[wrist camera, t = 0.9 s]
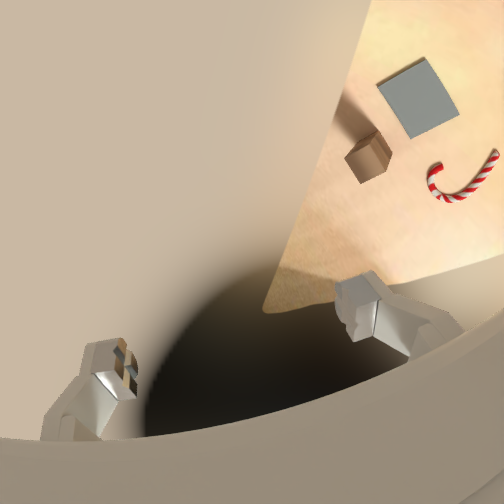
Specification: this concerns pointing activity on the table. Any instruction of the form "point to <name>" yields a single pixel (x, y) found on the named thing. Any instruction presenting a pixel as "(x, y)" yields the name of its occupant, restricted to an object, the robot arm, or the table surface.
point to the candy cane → (468, 190)
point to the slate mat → (419, 99)
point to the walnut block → (369, 157)
